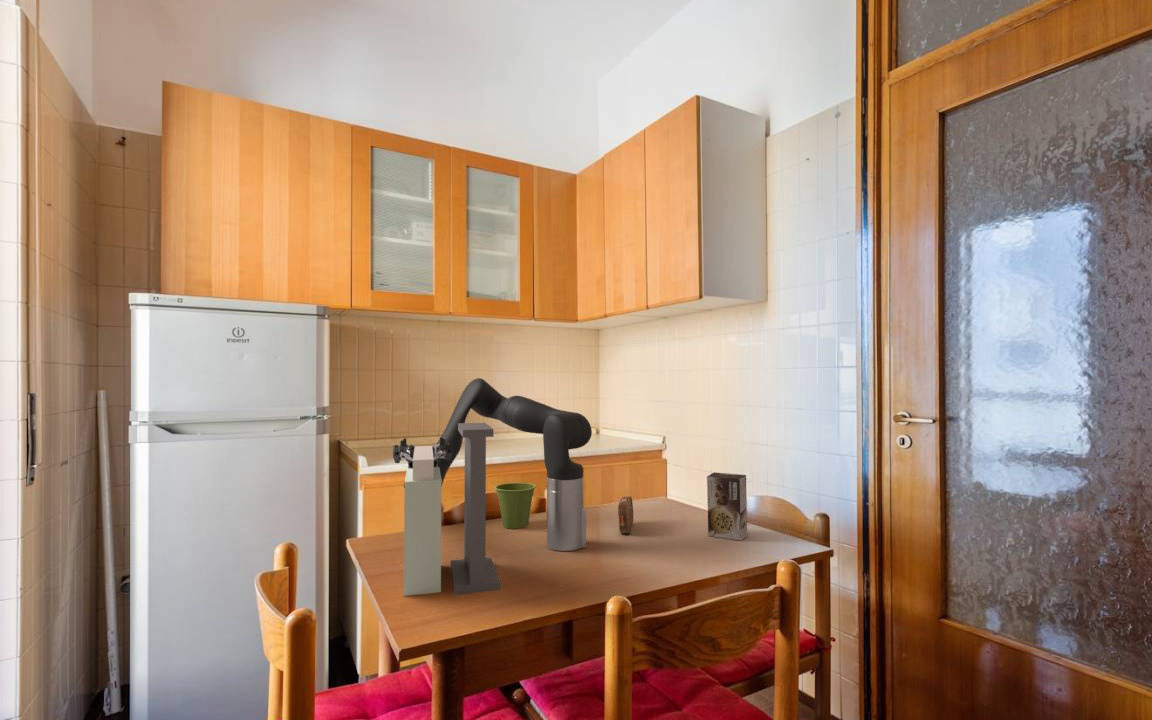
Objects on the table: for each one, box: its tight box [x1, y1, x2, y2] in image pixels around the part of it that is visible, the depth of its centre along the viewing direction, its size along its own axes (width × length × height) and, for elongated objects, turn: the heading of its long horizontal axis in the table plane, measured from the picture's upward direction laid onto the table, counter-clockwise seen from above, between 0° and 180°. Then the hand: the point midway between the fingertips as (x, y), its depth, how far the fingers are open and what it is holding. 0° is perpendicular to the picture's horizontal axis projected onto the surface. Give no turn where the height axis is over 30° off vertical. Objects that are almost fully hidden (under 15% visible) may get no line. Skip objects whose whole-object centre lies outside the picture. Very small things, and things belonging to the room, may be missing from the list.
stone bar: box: [413, 445, 434, 481], centre depth 120 cm, size 4×22×4 cm, turn 15°
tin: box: [617, 496, 634, 535], centre depth 153 cm, size 15×3×8 cm, turn 168°
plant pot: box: [494, 482, 537, 530], centre depth 156 cm, size 12×12×11 cm
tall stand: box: [450, 422, 501, 596], centre depth 116 cm, size 9×16×32 cm, turn 15°
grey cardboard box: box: [706, 472, 748, 541], centre depth 147 cm, size 9×6×16 cm
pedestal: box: [403, 467, 443, 597], centre depth 115 cm, size 7×16×22 cm, turn 15°
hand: (423, 441), depth 132 cm, fingers open, 8 cm apart
